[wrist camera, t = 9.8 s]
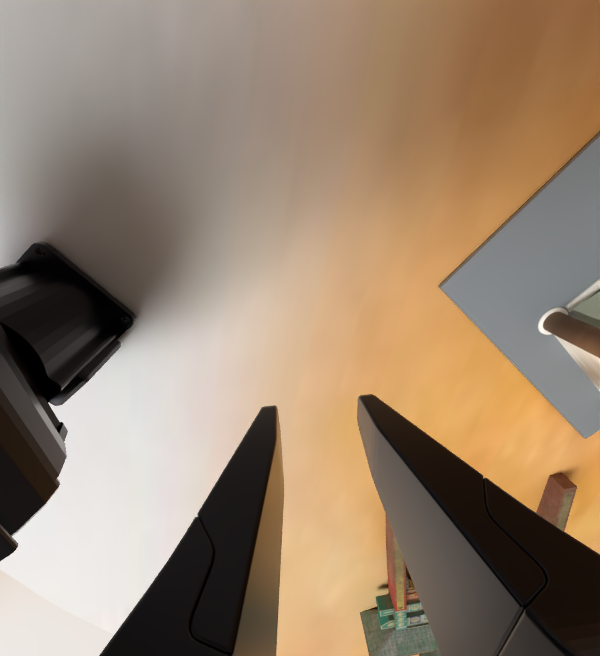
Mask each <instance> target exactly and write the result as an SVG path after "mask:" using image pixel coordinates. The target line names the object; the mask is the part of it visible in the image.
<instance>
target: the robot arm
mask: <svg viewBox="0 0 600 656" xmlns="http://www.w3.org/2000/svg"><path fill="white" fill-rule="evenodd" d="M40 248H42V249H43V250H44V251H45V253H46V254H45V255H44V254H42V253H41V251H40ZM124 316H126V317H128V318H129V320H130V321H126V320H125V319H124ZM135 321H136V316H135V314H134V313H133V312H132V311H130V310H129V309H128V308H127V307H125V306H124V305H123V304H122V303H121V302H119V301H118V300H117V299H116V298H114V297H113V296H112V295H111V294H110V293H108V292H107V291H106V290H105V289H103V288H102V287H101V286H100V285H99V284H97V283H96V282H95V281H94V280H92V279H91V278H90V277H89V276H88V275H86V274H85V273H84V272H83V271H81V270H80V269H79V268H78V267H77V266H75V265H74V264H73V263H72V262H70V261H69V260H68V259H67V258H66V257H64V256H63V255H62V254H61V253H59V252H58V251H57V250H56V249H55V248H53V247H52V246H51V245H49V244H48V243H45V242H39V243H34V244H33V245H31V246H30V248H29V249H28V250H27V251H26V252H25V253H24V254H23V255H22V257H21V258H20V259H19V260H18V261H17V262H16V263H15V264H13V265H9V266H6V267H3V268H0V561H1V560H3V559H4V558H6V557H7V556H9V555H10V554H12V553H13V552H14V551H15V550H16V549H17V547H18V543H17V542H16V541H15V540H14V539H13V538H12V536H13V535H14V534H16V533H17V532H18V531H19V530H20V529H21V528H22V527H23V526H24V525H25V524H26V523H27V522H28V521H29V520H30V519H32V518H33V517H34V516H35V515H36V514H37V513H38V512H39V511H40V510H41V509H42V508H43V507H44V506H45V504H46V503H47V502H48V500H49V499H50V498H51V497H52V495H53V494H54V493H55V491H56V490H57V489H58V487H59V485H60V482H59V480H58V479H57V477H58V476H59V474H60V472H61V469H62V467H63V464H64V462H65V459H66V448H65V443H64V441H65V438H66V435H67V432H68V431H67V429H66V427H65V425H64V424H63V423H62V422H59V421H58V419H57V417H56V416H55V414H54V412H53V411H52V409H51V407H50V406H49V404H48V402H50V403H51V404H53V405H55V406H58V405H62V404H63V403H64V402H66V401H67V400H68V399H69V398H70V397H71V396H72V395H73V394H74V393H76V392H77V391H78V390H79V389H80V388H81V387H82V386H83V385H85V384H86V383H87V382H88V381H89V380H90V379H91V378H92V377H93V376H94V375H95V373H96V372H97V371H98V370H99V369H100V368H101V367H102V366H103V365H104V364H105V363H106V362H107V361H108V360H109V359H110V357H111V356H112V355H113V354H114V353H115V352H116V351H117V350H118V349H119V348H120V347H121V343H120V341H118V340H117V339H118V338H119V337H120V336H121V335H122V334H123V333H124V332H125V331H126V330H128V329H129V328H130V327H131V326H132V325H133V324H134V323H135ZM357 420H358V426H359V430H360V434H361V438H362V441H363V445H364V449H365V453H366V456H367V460H368V464H369V468H370V471H371V475H372V478H373V481H374V484H375V486H376V489H377V492H378V494H379V497H380V499H381V502H382V504H383V507H384V510H385V512H386V515H387V517H388V520H389V522H390V525H391V528H392V530H393V533H394V535H395V538H396V540H397V543H398V546H399V548H400V551H401V553H402V556H403V558H404V561H405V564H406V566H407V569H408V571H409V574H410V576H411V579H412V582H413V584H414V587H415V589H416V592H417V594H418V597H419V600H420V602H421V605H422V607H423V610H424V612H425V615H426V618H427V620H428V623H429V625H430V628H431V630H432V633H433V636H434V638H435V641H436V643H437V646H438V648H439V651H440V654H441V656H600V554H598V553H597V552H595V551H594V550H592V549H590V548H589V547H587V546H586V545H584V544H583V543H581V542H579V541H578V540H576V539H575V538H573V537H572V536H570V535H569V534H567V533H565V532H564V531H562V530H561V529H559V528H558V527H556V526H555V525H553V524H552V523H550V522H549V521H547V520H546V519H544V518H543V517H541V516H540V515H538V514H537V513H535V512H534V511H532V510H530V509H529V508H528V507H526V506H525V505H523V504H522V503H521V502H519V501H518V500H516V499H515V498H513V497H512V496H511V495H509V494H508V493H506V492H505V491H504V490H502V489H501V488H500V487H498V486H497V485H495V484H494V483H493V482H491V481H490V480H489V479H487V478H484V479H483V475H482V474H480V473H479V472H478V471H476V470H475V469H474V468H472V467H471V466H469V465H468V464H467V463H465V462H464V461H463V460H461V459H460V458H459V457H457V456H456V455H455V454H453V453H452V452H451V451H449V450H448V449H446V448H445V447H444V446H442V445H441V444H440V443H438V442H437V441H436V440H434V439H433V438H432V437H430V436H429V435H427V434H426V433H425V432H423V431H422V430H421V429H419V428H418V427H417V426H415V425H414V424H413V423H411V422H410V421H408V420H407V419H406V418H404V417H403V416H402V415H400V414H399V413H398V412H396V411H395V410H394V409H392V408H391V407H390V406H388V405H387V404H385V403H384V402H383V401H381V400H380V399H379V398H377V397H376V396H375V395H372V394H369V395H361V396H359V397H358V411H357ZM283 504H284V477H283V462H282V447H281V433H280V424H279V416H278V409H277V406H266V407H262V408H261V410H260V412H259V413H258V415H257V416H256V418H255V420H254V421H253V423H252V425H251V426H250V428H249V430H248V431H247V433H246V435H245V436H244V438H243V440H242V441H241V443H240V445H239V446H238V448H237V449H236V451H235V453H234V454H233V456H232V458H231V459H230V461H229V463H228V464H227V466H226V468H225V469H224V471H223V473H222V474H221V476H220V477H219V479H218V481H217V482H216V484H215V486H214V487H213V489H212V491H211V492H210V494H209V496H208V497H207V499H206V501H205V502H204V504H203V505H202V507H201V509H200V510H199V512H198V514H197V515H198V517H195V518H194V520H193V522H192V523H191V525H190V527H189V528H188V530H187V532H186V533H185V535H184V536H183V538H182V540H181V541H180V543H179V544H178V546H177V547H176V549H175V551H174V552H173V554H172V555H171V557H170V558H169V560H168V561H167V563H166V564H165V566H164V567H163V568H162V570H161V571H160V573H159V574H158V576H157V577H156V578H155V580H154V581H153V583H152V584H151V585H150V587H149V588H148V590H147V591H146V593H145V594H144V595H143V597H142V598H141V599H140V601H139V602H138V603H137V605H136V606H135V608H134V609H133V610H132V612H131V613H130V614H129V616H128V617H127V618H126V620H125V621H124V623H123V624H122V625H121V627H120V628H119V629H118V631H117V632H116V633H115V635H114V636H113V638H112V639H111V640H110V642H109V643H108V644H107V646H106V647H105V649H104V650H103V651H102V653H101V654H100V656H276V645H277V625H278V605H279V585H280V565H281V545H282V524H283Z"/></svg>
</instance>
